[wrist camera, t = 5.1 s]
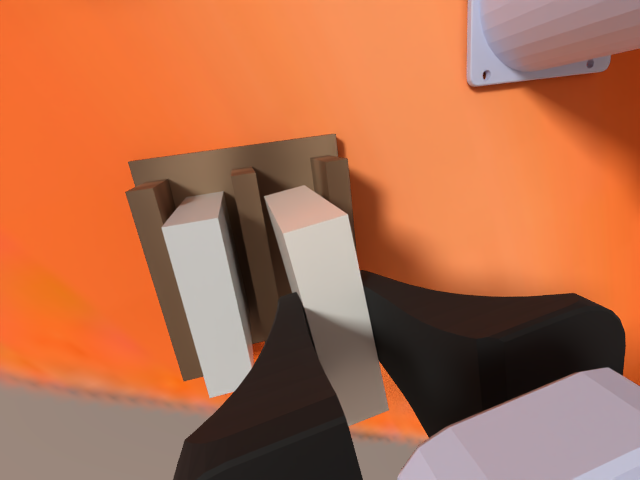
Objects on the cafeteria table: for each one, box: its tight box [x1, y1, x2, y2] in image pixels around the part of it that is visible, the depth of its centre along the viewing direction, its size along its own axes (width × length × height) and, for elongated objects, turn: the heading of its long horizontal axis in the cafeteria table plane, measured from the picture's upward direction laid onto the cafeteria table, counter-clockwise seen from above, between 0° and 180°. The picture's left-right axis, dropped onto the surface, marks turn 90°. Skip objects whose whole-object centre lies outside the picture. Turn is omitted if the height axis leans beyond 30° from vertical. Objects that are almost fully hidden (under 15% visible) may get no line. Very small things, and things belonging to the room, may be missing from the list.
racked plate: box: [161, 191, 254, 398], centre depth 15 cm, size 2×7×6 cm, turn 7°
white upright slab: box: [264, 185, 389, 426], centre depth 13 cm, size 2×7×6 cm, turn 13°
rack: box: [125, 134, 357, 381], centre depth 17 cm, size 10×11×4 cm
